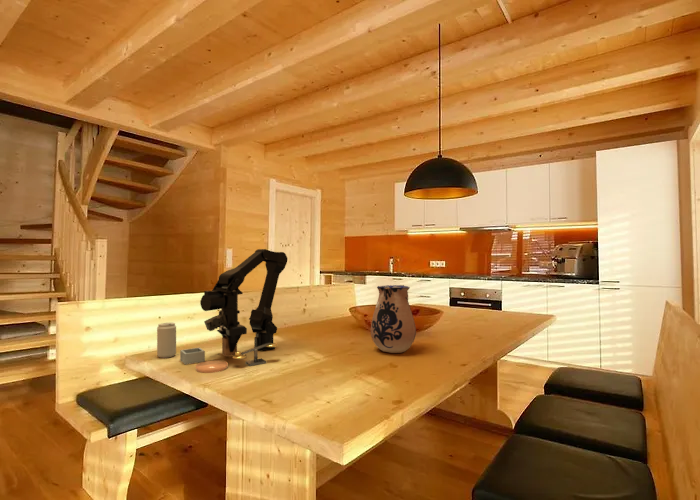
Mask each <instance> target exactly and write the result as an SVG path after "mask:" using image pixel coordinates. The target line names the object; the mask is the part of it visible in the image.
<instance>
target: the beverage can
mask: <svg viewBox="0 0 700 500" xmlns="http://www.w3.org/2000/svg"><path fill="white" fill-rule="evenodd" d="M156 331H157V332H156V334H157V335H156V341H157V342H156V348H157V349H156V356H157V357H159V358H162V359H167V358H168V359H169V358H173V357H174V356H175V355H176V354H177V326H176V323H175V322H161V323H158V326H157V328H156Z"/></svg>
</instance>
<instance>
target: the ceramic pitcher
mask: <svg viewBox="0 0 700 500" xmlns="http://www.w3.org/2000/svg"><path fill="white" fill-rule="evenodd" d="M376 288H377V291H378V298H377V301H376V304H375V308H374V311H373V314H372V319H371V323H370V335H371V339H372V342H373V343H374V345H375V346H376V347H377V348H378V349H379V350H380V351H381V352H384V353H390V354H400V353H405V352H406V351H407V350H409V349H410V348H411V346H412V345H413V343H414V341H415V340H416V335H417V328H416V323H415V318H414V316H413V315H414V314H413V312H412V310H411V305H410V302H409V290H410V288H411V287H410V286H407V285H404V284H403V285H397V284H396V285H394V284H393V285H391V284H390V285H388V284H387V285H378V286H377V287H376Z"/></svg>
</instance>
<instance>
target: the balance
mask: <svg viewBox="0 0 700 500" xmlns="http://www.w3.org/2000/svg"><path fill="white" fill-rule="evenodd" d="M265 346H266V347H275V348H276V347H278V346H279V345H278V343H274V342H273V343H266V344H263V345H261V346H258V347H255V348H254V347H252V348H250V349H248V350H244V351H242V352H241V351H238V350H237V352H235V355H232V359H235V360H242V359H245V358H247V355H246V354H249V353H250V352H251V353H252V352H253V359H250V360H245V361H244V362H245V363H244V364H245V365H247V366H249V367H253V366H258V365H264V364H267V360H266V359H264V358H258V354H259V353H258V351H259V350H258V349H259V348H262V347H265Z"/></svg>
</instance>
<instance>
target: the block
mask: <svg viewBox="0 0 700 500" xmlns="http://www.w3.org/2000/svg"><path fill="white" fill-rule="evenodd" d="M221 346H222V347H221V351H222V352H221V355H223V356H225V357H231V356H232V357H233V356H234V355H235V352H237V351H238V344H237V345H236V347H235V349H234V351H233V352H230V349H229V343H228V338H227V337H222V338H221Z"/></svg>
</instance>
